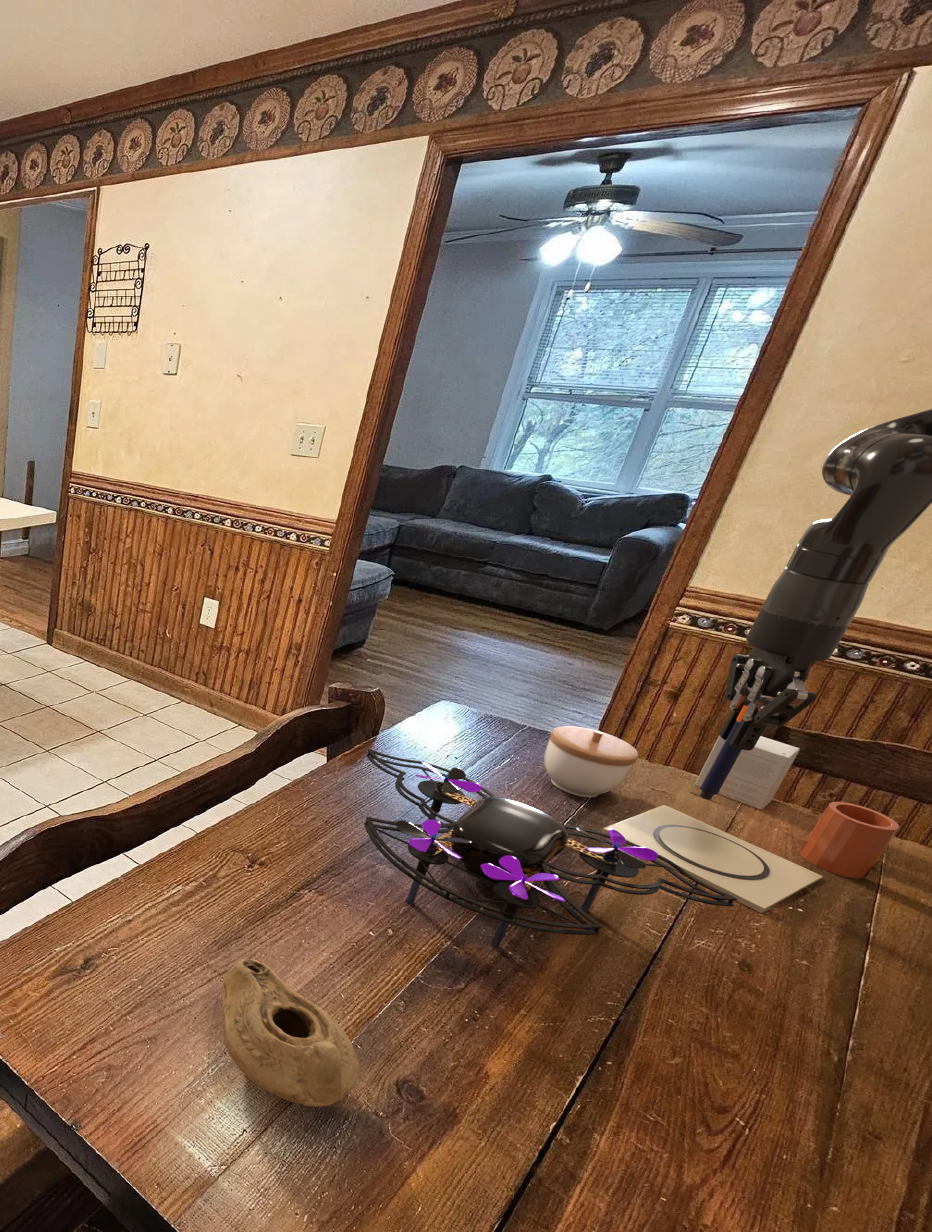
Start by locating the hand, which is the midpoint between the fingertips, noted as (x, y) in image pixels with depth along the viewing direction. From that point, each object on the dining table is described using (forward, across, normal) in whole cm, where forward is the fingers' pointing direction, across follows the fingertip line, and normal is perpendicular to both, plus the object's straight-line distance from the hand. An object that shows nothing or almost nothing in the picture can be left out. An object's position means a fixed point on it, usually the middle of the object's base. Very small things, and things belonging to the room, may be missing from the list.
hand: (734, 743), depth 98 cm
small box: (+16, +18, -13) cm, 28 cm away
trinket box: (+16, +14, +8) cm, 23 cm away
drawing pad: (+16, 0, -3) cm, 17 cm away
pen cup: (+16, +4, -19) cm, 25 cm away
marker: (+8, 0, 0) cm, 8 cm away
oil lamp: (+17, -56, +53) cm, 79 cm away
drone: (+16, -23, +29) cm, 41 cm away
